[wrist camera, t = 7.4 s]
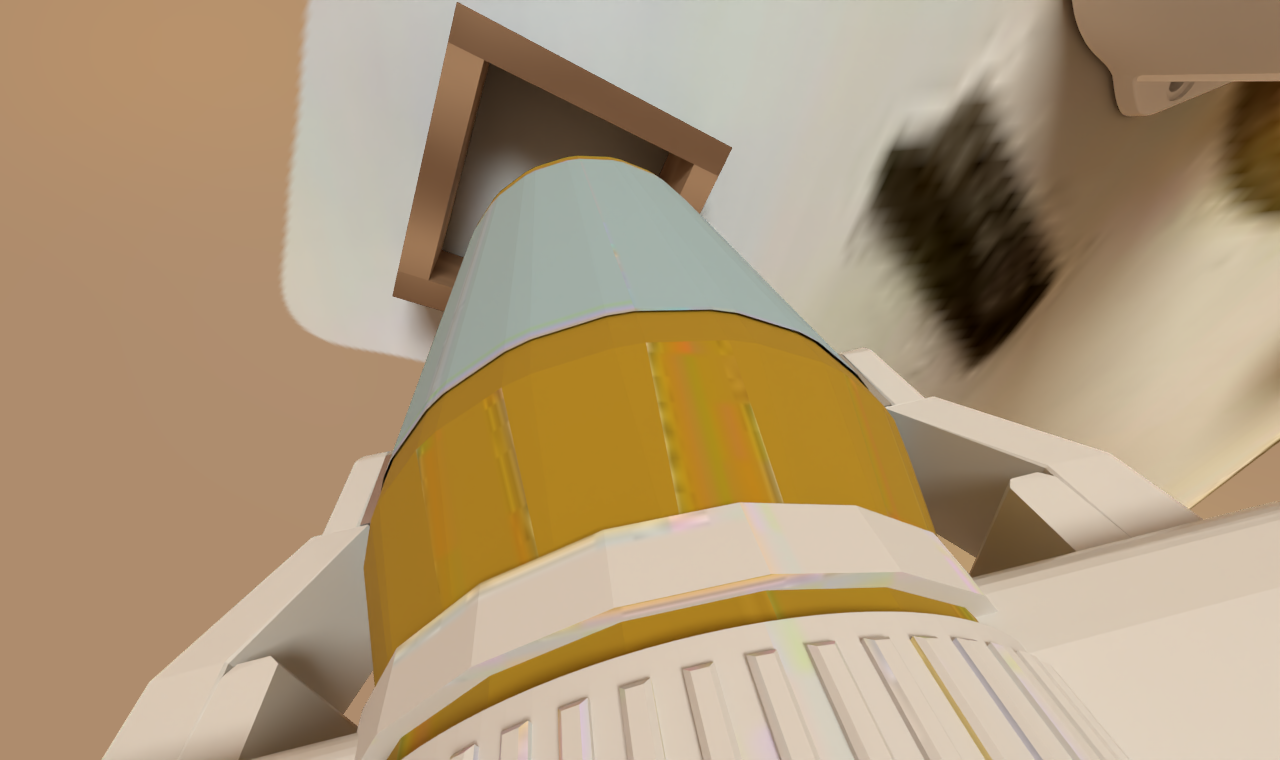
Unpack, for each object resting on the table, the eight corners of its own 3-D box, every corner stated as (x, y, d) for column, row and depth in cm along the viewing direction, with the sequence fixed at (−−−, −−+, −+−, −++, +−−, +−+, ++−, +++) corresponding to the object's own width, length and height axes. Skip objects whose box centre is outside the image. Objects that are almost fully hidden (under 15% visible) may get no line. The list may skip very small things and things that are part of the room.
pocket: (468, 11, 19) (456, 1, 16) (703, 135, 23) (732, 147, 20) (410, 263, 24) (392, 296, 21) (614, 329, 28) (625, 365, 25)
